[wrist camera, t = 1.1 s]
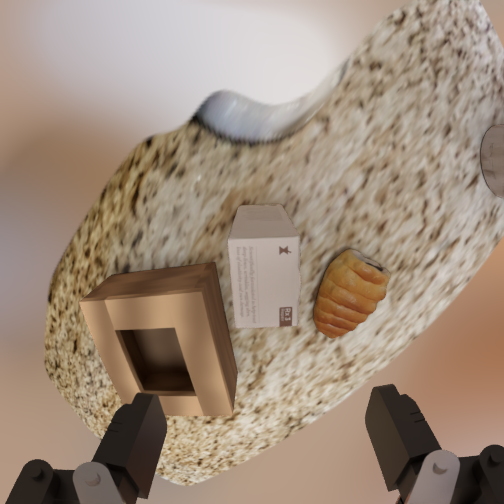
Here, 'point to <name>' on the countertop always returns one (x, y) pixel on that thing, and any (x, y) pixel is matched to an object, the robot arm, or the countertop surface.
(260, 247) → the skincare box
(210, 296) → the slot box
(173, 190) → the countertop surface
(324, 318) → the pastry
